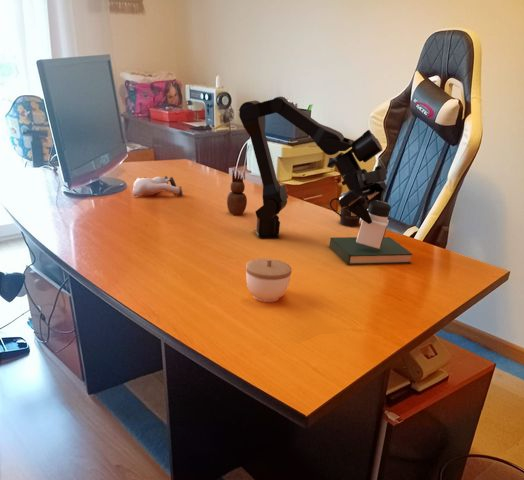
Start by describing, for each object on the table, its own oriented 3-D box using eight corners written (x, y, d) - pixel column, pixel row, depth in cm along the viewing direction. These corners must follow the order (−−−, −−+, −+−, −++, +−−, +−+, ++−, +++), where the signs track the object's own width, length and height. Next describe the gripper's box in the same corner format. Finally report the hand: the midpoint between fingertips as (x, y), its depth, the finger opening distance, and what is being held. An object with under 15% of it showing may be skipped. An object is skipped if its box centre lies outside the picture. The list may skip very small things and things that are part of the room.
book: (347, 265, 148) (349, 255, 146) (329, 246, 160) (330, 237, 158) (410, 263, 153) (412, 253, 151) (387, 245, 165) (389, 236, 164)
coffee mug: (363, 222, 185) (368, 194, 180) (359, 229, 178) (364, 200, 173) (331, 217, 188) (335, 189, 183) (326, 223, 181) (330, 194, 176)
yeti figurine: (157, 188, 211) (115, 194, 197) (156, 171, 208) (113, 176, 194) (189, 195, 200) (148, 202, 186) (189, 176, 196) (146, 182, 183)
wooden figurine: (224, 214, 181) (225, 169, 174) (230, 210, 186) (232, 167, 179) (241, 217, 180) (244, 173, 172) (248, 213, 184) (250, 170, 177)
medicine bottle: (379, 249, 148) (392, 208, 142) (355, 242, 149) (367, 201, 143) (381, 243, 154) (394, 203, 148) (358, 236, 155) (370, 196, 149)
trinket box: (267, 284, 132) (270, 248, 127) (297, 299, 125) (301, 262, 120) (235, 294, 125) (236, 257, 120) (265, 310, 119) (268, 272, 114)
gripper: (355, 158, 135) (385, 210, 135) (388, 152, 148) (414, 200, 149) (326, 182, 143) (353, 232, 143) (359, 174, 156) (384, 220, 157)
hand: (377, 220), depth 148 cm, fingers closed on medicine bottle, 8 cm apart
